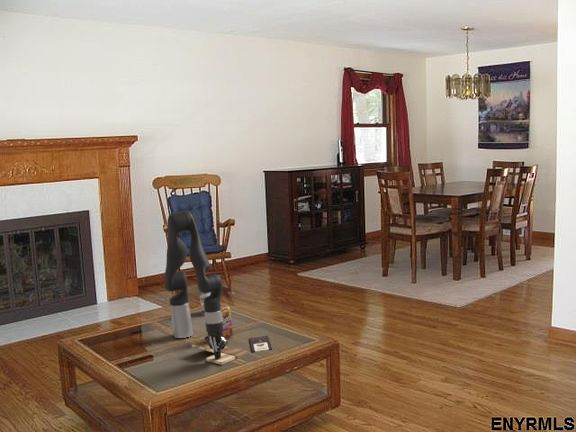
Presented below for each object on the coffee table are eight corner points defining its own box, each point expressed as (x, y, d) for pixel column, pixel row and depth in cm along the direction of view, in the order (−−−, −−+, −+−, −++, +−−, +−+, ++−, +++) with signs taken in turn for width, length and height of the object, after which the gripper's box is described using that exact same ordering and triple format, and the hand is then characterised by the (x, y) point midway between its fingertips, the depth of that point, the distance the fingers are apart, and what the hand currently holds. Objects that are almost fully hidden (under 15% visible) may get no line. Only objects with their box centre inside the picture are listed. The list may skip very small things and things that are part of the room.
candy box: (217, 342, 283) (213, 311, 281) (213, 340, 287) (209, 310, 284) (233, 337, 288) (230, 307, 286) (229, 335, 291) (226, 305, 289)
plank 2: (206, 360, 260) (206, 358, 260) (219, 354, 266) (219, 352, 266) (221, 364, 254) (221, 362, 253) (235, 358, 260) (235, 356, 259)
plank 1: (191, 346, 268) (192, 344, 268) (204, 350, 273) (204, 347, 274) (206, 350, 261) (206, 347, 261) (218, 353, 267) (219, 351, 267)
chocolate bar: (267, 335, 284) (271, 348, 267) (268, 337, 284) (272, 350, 267) (249, 338, 283) (252, 351, 265) (249, 340, 283) (252, 353, 266)
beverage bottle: (219, 312, 332) (215, 277, 329) (208, 316, 325) (204, 281, 323) (209, 310, 337) (205, 276, 334) (198, 314, 331) (194, 280, 328)
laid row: (204, 350, 274) (204, 347, 274) (214, 345, 279) (214, 343, 279) (237, 358, 260) (236, 356, 259) (247, 353, 264) (247, 351, 264)
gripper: (197, 320, 258) (201, 358, 260) (217, 325, 249) (221, 364, 251) (210, 316, 263) (214, 353, 266) (230, 320, 255) (234, 358, 257)
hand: (218, 358), depth 258 cm, fingers closed
